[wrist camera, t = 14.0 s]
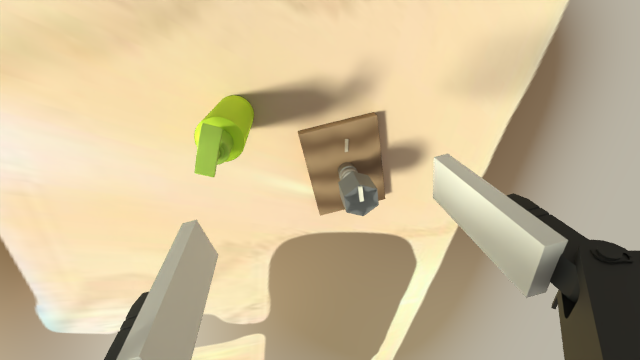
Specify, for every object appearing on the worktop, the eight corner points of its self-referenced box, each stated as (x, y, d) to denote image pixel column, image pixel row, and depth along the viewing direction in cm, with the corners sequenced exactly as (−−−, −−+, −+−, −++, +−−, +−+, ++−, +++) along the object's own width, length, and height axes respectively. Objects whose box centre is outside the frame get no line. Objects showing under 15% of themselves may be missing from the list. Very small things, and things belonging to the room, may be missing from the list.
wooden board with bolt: (297, 131, 46) (301, 147, 39) (373, 112, 46) (390, 125, 39) (318, 209, 55) (324, 234, 48) (381, 193, 55) (396, 216, 48)
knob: (370, 197, 44) (379, 213, 40) (341, 204, 44) (347, 220, 40) (367, 167, 42) (377, 181, 37) (336, 174, 41) (343, 189, 37)
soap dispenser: (258, 95, 42) (243, 135, 24) (250, 134, 45) (230, 194, 27) (221, 83, 40) (176, 118, 23) (214, 124, 43) (170, 182, 26)
